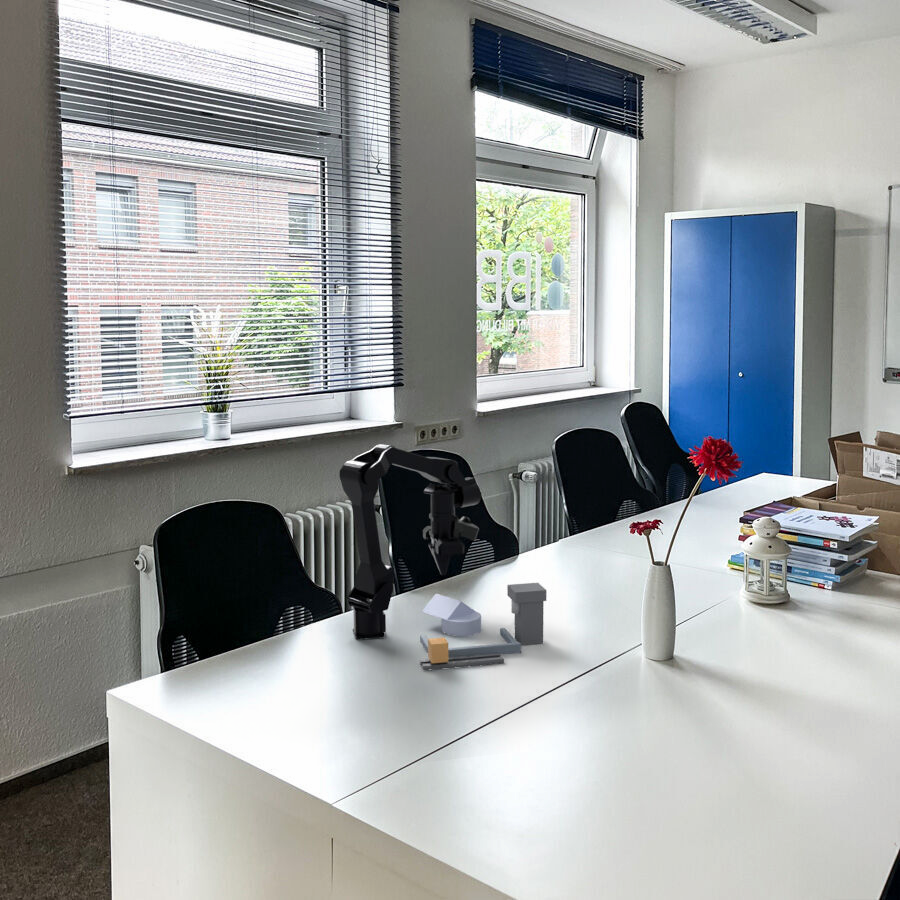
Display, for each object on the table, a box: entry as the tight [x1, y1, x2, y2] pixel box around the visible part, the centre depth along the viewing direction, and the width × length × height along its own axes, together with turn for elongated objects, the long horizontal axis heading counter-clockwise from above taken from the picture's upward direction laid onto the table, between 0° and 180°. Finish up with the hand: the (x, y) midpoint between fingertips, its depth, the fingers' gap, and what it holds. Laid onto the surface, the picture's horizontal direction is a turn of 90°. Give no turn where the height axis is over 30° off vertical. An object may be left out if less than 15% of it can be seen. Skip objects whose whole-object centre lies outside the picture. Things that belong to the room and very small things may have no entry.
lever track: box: [419, 653, 505, 671], centre depth 205 cm, size 17×4×1 cm, turn 103°
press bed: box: [419, 582, 547, 657], centre depth 215 cm, size 26×12×12 cm, turn 103°
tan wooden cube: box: [427, 637, 449, 663], centre depth 203 cm, size 4×4×5 cm
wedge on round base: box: [421, 593, 482, 637], centre depth 228 cm, size 9×7×13 cm
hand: (443, 574), depth 238 cm, fingers closed
